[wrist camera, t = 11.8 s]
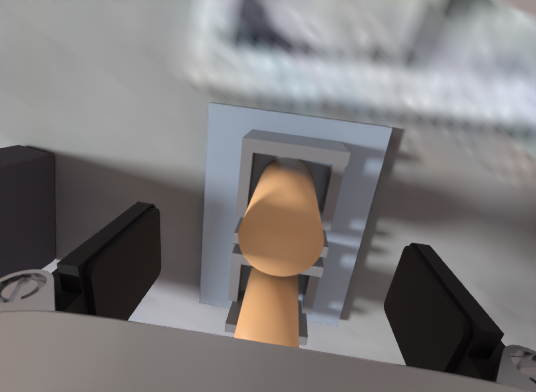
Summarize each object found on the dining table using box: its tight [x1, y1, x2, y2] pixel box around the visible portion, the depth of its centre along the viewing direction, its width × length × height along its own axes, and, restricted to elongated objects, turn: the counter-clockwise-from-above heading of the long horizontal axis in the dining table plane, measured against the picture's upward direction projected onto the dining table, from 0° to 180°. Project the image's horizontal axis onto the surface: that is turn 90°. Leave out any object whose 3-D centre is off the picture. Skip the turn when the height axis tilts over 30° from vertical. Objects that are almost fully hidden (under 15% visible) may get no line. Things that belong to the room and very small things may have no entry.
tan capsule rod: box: [238, 157, 324, 276], centre depth 17 cm, size 4×4×9 cm
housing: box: [199, 102, 392, 348], centre depth 19 cm, size 18×13×10 cm
